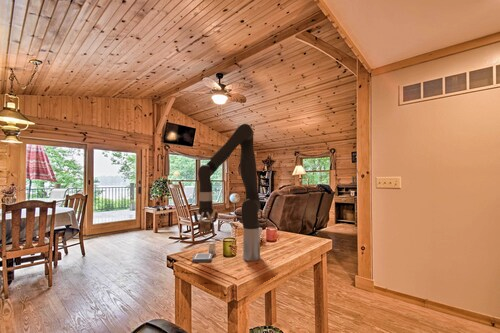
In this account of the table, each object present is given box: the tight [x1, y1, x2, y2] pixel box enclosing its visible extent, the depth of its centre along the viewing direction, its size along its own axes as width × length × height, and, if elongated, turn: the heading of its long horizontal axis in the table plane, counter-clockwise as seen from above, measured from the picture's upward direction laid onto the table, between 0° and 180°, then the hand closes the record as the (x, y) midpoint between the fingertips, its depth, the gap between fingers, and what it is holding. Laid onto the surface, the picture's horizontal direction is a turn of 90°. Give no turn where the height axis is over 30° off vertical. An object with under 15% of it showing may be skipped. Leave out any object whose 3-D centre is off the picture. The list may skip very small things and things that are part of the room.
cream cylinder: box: [208, 241, 216, 255], centre depth 145 cm, size 4×4×6 cm
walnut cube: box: [199, 219, 212, 233], centre depth 140 cm, size 6×6×6 cm
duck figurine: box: [260, 227, 265, 240], centre depth 168 cm, size 12×8×11 cm
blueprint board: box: [191, 252, 214, 263], centre depth 136 cm, size 10×10×2 cm
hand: (205, 229), depth 140 cm, fingers closed on walnut cube, 5 cm apart
